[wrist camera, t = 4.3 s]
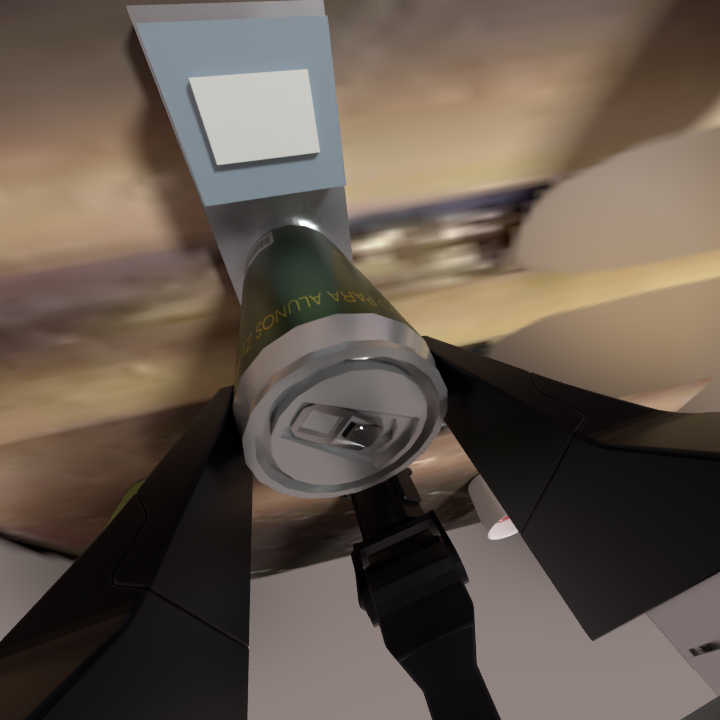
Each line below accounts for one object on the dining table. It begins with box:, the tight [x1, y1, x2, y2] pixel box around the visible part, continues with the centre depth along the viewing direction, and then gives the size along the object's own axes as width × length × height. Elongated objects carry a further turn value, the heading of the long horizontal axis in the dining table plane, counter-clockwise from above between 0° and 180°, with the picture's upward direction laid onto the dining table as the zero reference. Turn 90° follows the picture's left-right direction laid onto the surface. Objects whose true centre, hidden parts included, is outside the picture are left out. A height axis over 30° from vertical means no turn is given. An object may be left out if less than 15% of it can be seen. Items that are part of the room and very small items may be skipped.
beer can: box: [233, 225, 447, 498], centre depth 11 cm, size 5×5×12 cm
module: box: [136, 16, 346, 206], centre depth 12 cm, size 5×6×3 cm
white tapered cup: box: [468, 474, 518, 540], centre depth 40 cm, size 9×9×6 cm
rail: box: [126, 0, 353, 305], centre depth 17 cm, size 20×7×1 cm, turn 6°
